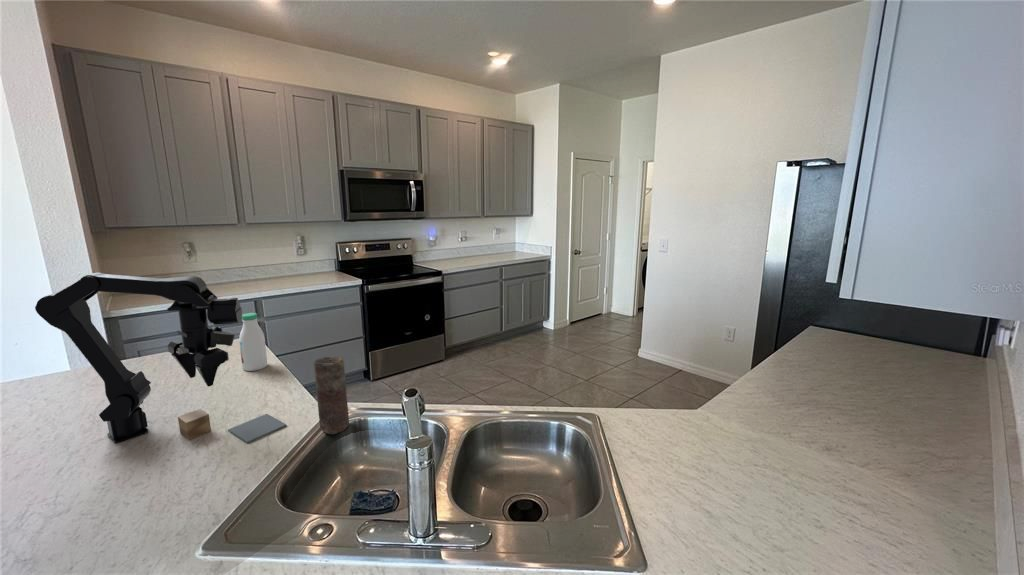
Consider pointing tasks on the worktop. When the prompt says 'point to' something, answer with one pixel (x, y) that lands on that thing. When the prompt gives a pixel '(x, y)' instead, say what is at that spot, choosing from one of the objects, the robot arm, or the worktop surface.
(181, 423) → the walnut cube
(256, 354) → the milk bottle
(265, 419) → the slate pad
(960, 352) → the worktop surface
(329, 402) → the candle
